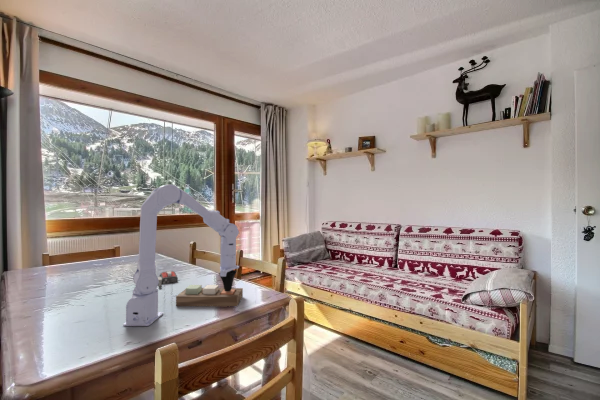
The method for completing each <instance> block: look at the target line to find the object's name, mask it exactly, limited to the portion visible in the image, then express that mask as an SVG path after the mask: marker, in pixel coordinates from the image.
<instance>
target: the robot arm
mask: <svg viewBox="0 0 600 400" xmlns="http://www.w3.org/2000/svg"><path fill="white" fill-rule="evenodd" d="M151 191H152V192H151V193H150V194H149V196H147V197H146V199H145V200H144V201H143V203H142V204H141V206H140V219H139V220H140V221H139V239H138V258H137V259H138V261H137V264H136V271H135V272H134V274H133V277H132V279H133V283H134V284H135V287H134V289H133V290H132V295H131V297H130V299H128V301H127V302H126V304H125V305H126V306H125V322H124V323H123V324H122V326H123V327H124V326H125V327H127V326H129V327H132V326H133V327H149V326H150V325H152V324H153V323H154V322H156V321H157V320H158V319H159V318H160V317H161V316H163V314H164V312H163V311H159V288H158V287H159V280H158V277H159V276H157V267H156V245H157V229H158V228H157V225H158V224H157V222H158V221H157V220H158V213H159V212H161V211H162V210H163V209H164V208H165V207H168V206H170V205H172V204H178V205H183V206H185V207H187V208H188V209H189V210H191V211H193V212H194V213H196V214H198V216H200V217H201V218H202V220H203V221H202V222H203V223H204V224H205V225H207V226H208V227H209V228H210V229H212V230H213V231H215V232H216V233H218V235H219V236H220V259H219V263H220V265H219V277H220V279H221V280H222V281H221V282H222V284H223V285H222V286H223V288H224V290H225V291H231V289H232V288H233V283H234V279H235V276H236V274H237V273H238V272H237V271H238V270H237V269H239V268H240V265H237V237H238V236H239V233H240V230H239V228H238V226H237V225H236V224H235V223H231V222H230V219H229V218H225V216H223V215H221V212H220V211H219V210H215V209H211V210H209V209H208V208H206V207H205V206H204V205H202V204H201V203H200V202H199V201H198V200H197V199H195V198H194V197H193V196H191V195H190V194H189V193H187V192H186V191H184V190H183V189H181V188H179V187H178V186H177V185H175V184H172V183H171V184H163V185H160V186H158V187H156V188H155V189H153V190H151Z"/></svg>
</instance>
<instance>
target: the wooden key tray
mask: <svg viewBox="0 0 600 400" xmlns="http://www.w3.org/2000/svg"><path fill="white" fill-rule="evenodd" d="M203 288H204V287H202V291H201V292H200V293H199V294H186V288H184V290H182V291H181V292H180V293H179V294H177V295H176V296H175V306H176V307H224V308H225V307H227V306H229V307H230V306H237V305H238V306H239V304H240V303H241V301H240V300H242V299H243V296H244V293H243V292H244V290H243V288H241V287H232V289H235V293H234V295H221V292H222V291H223V290H224V287H218V292H217V293H216V294H215V295H205V294H203ZM241 298H242V299H241ZM238 306H237V307H238Z"/></svg>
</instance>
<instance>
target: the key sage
mask: <svg viewBox="0 0 600 400" xmlns="http://www.w3.org/2000/svg"><path fill="white" fill-rule="evenodd" d="M202 286H203V285H202V284H189V285H188V286H187V287H186V288H185V289H186V294H199V293H200V292H201V291H202V288H203V287H202Z"/></svg>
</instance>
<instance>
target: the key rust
mask: <svg viewBox="0 0 600 400" xmlns="http://www.w3.org/2000/svg"><path fill="white" fill-rule="evenodd" d="M234 293H235V289H231V291H225V290H223V291H222V292H221V295H234Z"/></svg>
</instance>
